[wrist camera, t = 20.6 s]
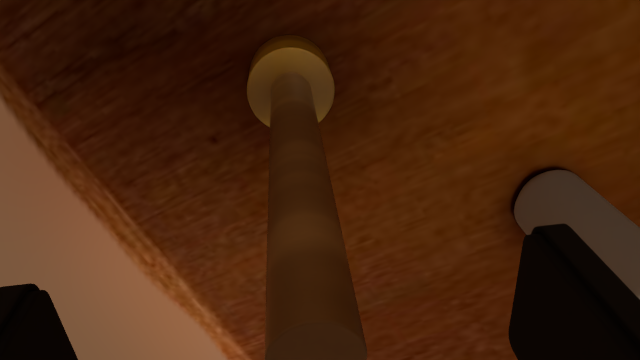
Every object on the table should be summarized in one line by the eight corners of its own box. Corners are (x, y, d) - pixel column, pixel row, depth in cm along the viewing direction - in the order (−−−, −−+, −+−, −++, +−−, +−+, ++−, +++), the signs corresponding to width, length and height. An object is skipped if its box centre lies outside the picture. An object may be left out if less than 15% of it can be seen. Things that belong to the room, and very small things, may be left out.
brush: (244, 38, 26) (179, 284, 8) (326, 31, 26) (433, 256, 9) (255, 116, 28) (220, 445, 10) (331, 109, 28) (425, 420, 11)
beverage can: (511, 236, 34) (620, 381, 23) (507, 176, 31) (626, 306, 21) (581, 219, 33) (723, 357, 23) (582, 157, 31) (740, 279, 21)
